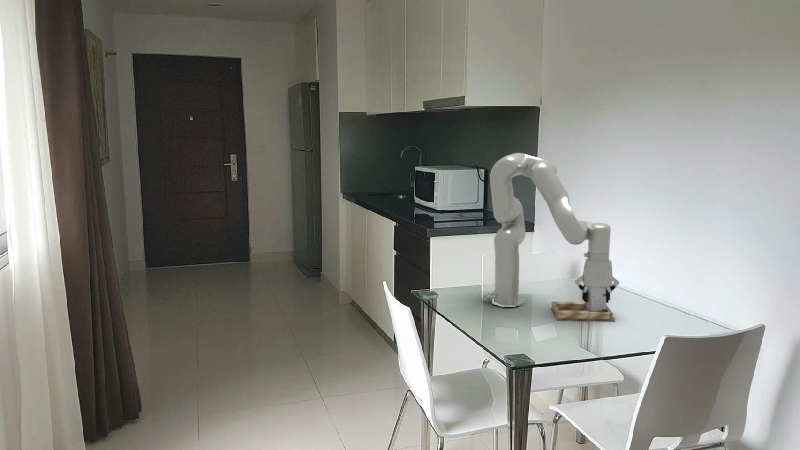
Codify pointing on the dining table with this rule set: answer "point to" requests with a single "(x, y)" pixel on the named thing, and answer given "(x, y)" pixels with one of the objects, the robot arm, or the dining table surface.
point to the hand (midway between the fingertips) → (595, 301)
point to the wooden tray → (579, 312)
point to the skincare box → (596, 298)
